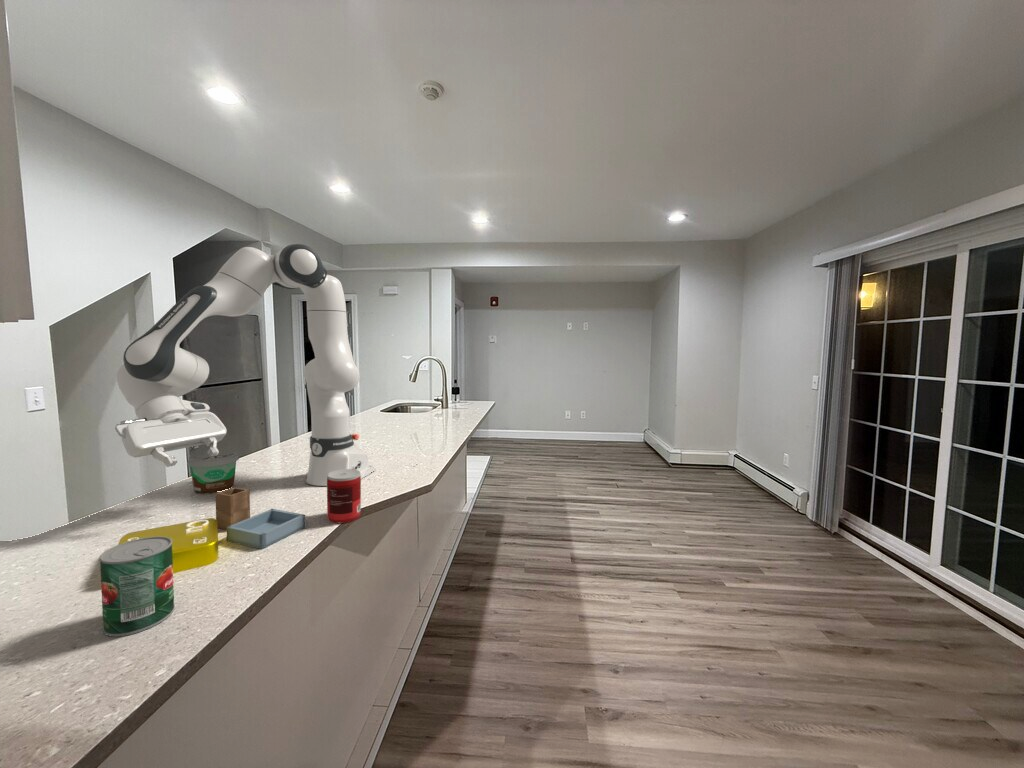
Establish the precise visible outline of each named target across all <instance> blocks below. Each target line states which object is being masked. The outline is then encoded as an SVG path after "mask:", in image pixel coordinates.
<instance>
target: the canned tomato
mask: <svg viewBox="0 0 1024 768" xmlns="http://www.w3.org/2000/svg"><path fill="white" fill-rule="evenodd" d="M172 559H173V556H172V539H171V538H168V537H162V536H157V537H147V538H141V539H136V540H132V541H128V542H125V543H122V544H119V545H118V544H117V545H114V546H113V547H110V548H109V549H107V550H105V551H103V552H102V553H101V554H100V556H99V563H100V564H99V566H100V567H99V568H100V569H99V570H100V587H101V590H100V591H101V609H102V611H101V612H102V613H101V614H102V632H103V631H104V632H103V634H104V633H105V635H106V634H107V635H106V636H108V635H111V636H110V637H114V636H117V637H125V635H126V636H130V635H134V634H137V633H141V632H143V631H147V630H149V629H151V628H153V627H154V626H157V625H158V624H161V623H162V622H164V621H166V620H167V619H168V618H169V617H171V616H172V614H173V613H174V612H175V611H174V610H175V594H174V593H175V590H174V588H175V586H174V573H173V560H172Z"/></svg>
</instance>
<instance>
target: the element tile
mask: <svg viewBox="0 0 1024 768" xmlns="http://www.w3.org/2000/svg"><path fill="white" fill-rule="evenodd" d="M218 529H219V528H217V520H216V518H213V517H209V518H203V519H197V520H192V521H187V522H181V523H177V524H170V525H164V526H159V527H154V528H153V527H152V528H148V529H142V530H138V531H137V530H136V531H132V532H128V533H126V534H125V535H123V536H122V537H120V539H119V541H118V543H117V545H119V544H122V543H125V542H128V541H132V540H136V539H141V538H147V537H157V536H162V537H168V538H171V539H172V556H173V559H172V560H173V574H177V573H181V572H185V571H190V570H193V569H197V568H202V567H205V566H209V565H212V564H214V563H215V562H217V561H218V560H219V557H220V556H219V555H220V554H219V553H220V552H219V533H218V532H219V530H218Z"/></svg>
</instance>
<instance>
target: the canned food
mask: <svg viewBox="0 0 1024 768" xmlns="http://www.w3.org/2000/svg"><path fill="white" fill-rule="evenodd" d="M361 481H362V479H361V474H360V471H358V470H354V469H342V470H336V471H333V472H330V473H329V474H328V475H327V486H326V499H327V500H326V504H327V505H326V508H327V512H326V514H327V515H326V516H327V519H328V521H329V522H331V523H334V524H346V523H350V522H353V521H355V520H357V519H358V518H359V517H360V516H361V514H362V513H361V509H362V508H361V507H362V505H361V504H362V503H361V502H362V499H361V498H362V497H361V496H362V494H361V492H362V491H361V490H362V487H361V486H362V482H361Z"/></svg>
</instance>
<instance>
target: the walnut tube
mask: <svg viewBox="0 0 1024 768" xmlns="http://www.w3.org/2000/svg"><path fill="white" fill-rule="evenodd" d="M214 495H215V496H214V497H215V519H216V520H217V528H218V529H219V530H220V529H221V530H224V531H227V527H228V526H231V525H233V524H236V523H238V522H241V521H243V520H246V519H248V518H251V499H250V498H251V497H250V495H251V494H250V489H248V488H242V487H234V486H233V487H232V488H231V489H228V490H225V491H222V492H217V493H214Z"/></svg>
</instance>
